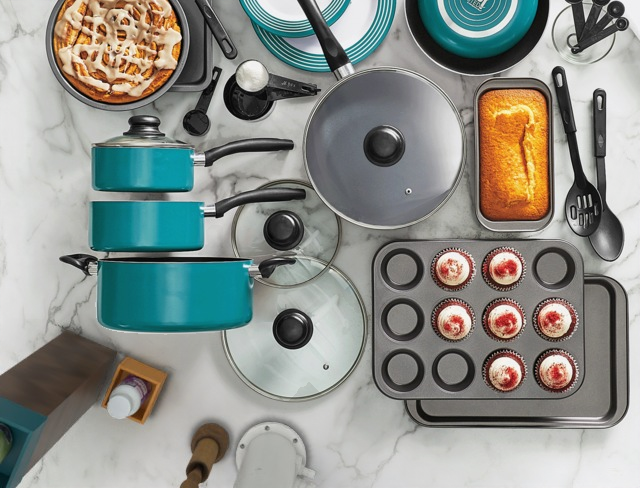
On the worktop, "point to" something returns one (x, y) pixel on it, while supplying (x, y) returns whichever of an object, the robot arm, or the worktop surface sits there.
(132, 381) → the pill bottle
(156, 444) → the worktop surface
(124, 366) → the amber bin
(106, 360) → the riser
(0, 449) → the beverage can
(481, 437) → the worktop surface
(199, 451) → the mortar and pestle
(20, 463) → the teal bin
